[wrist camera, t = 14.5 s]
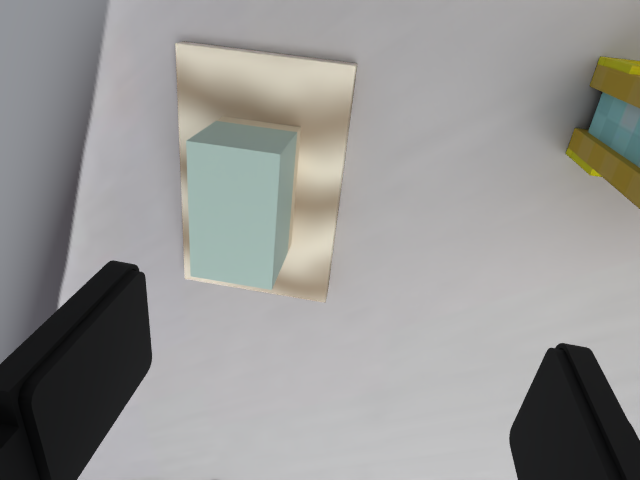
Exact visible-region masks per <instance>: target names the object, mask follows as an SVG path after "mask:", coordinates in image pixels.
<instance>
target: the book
mask: <svg viewBox="0 0 640 480" xmlns="http://www.w3.org/2000/svg"><path fill="white" fill-rule="evenodd" d="M590 87H593V88H595V89H597V90H599V91H602V92H603V93H602V95H601V98H600V101H599V103H598V106H597V109H596V112H595V114H594V117H593V120H592V123H591V125H590V128H589V130H588V129H580V128H575V129H574V132H573V134H572V137H571V140H570V143H569V146H568V148H567V151H566V154H567V155H568V156H569V157H570V158H571V159H572V160H574V161H575V162H576V163H577V164H578V165H579V166H580V167H581V168H582V169H584V170H585V171H586V172H587V173H588V174H589V175H592V176H599V177H603V178H604V179H605V180H607V181H608V182H609V183H610V184H611V185H612V186H614V187H615V188H616V189H617V190H618V191H619V192H621V193H622V194H623V195H624V196H625V197H626V198H628V199H629V200H630V201H631V202H632V203H633V204H635V205H636V206H637V207H638V208H639V209H640V61H635V60H626V59H618V58H609V57H600V58H599V61H598V63H597V66H596V69H595V72H594V75H593V78H592V81H591V83H590Z"/></svg>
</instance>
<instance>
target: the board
mask: <svg viewBox="0 0 640 480" xmlns="http://www.w3.org/2000/svg"><path fill="white" fill-rule="evenodd" d="M175 46H176V71H177V96H178V121H179V146H180V171H181V196H182V221H183V246H184V271H185V279H189V280H195V281H200V282H206V283H212V284H218V285H224V286H230V287H236V288H242V289H248V290H254V291H260V292H265V293H271V294H277V295H283V296H289V297H295V298H301V299H307V300H313V301H319V302H324V303H325V302H326V297H327V293H328V285H329V278H330V270H331V262H332V255H333V247H334V239H335V232H336V224H337V216H338V209H339V201H340V193H341V186H342V178H343V170H344V163H345V155H346V147H347V140H348V132H349V124H350V117H351V109H352V101H353V94H354V86H355V78H356V71H357V63H350V62H342V61H334V60H326V59H318V58H310V57H302V56H294V55H286V54H278V53H270V52H263V51H255V50H247V49H239V48H231V47H223V46H215V45H207V44H199V43H191V42H179V43H175ZM223 116H224V117H231V118H238V119H246V120H253V121H260V122H267V123H274V124H282V125H289V126H296V127H301V134H300V146H299V158H298V170H297V182H296V194H295V206H294V218H293V230H292V242H291V247H290V249H289V251H288V254H287V256H286V258H285V261H284V263H283V265H282V267H281V270H280V272H279V274H278V277H277V279H276V281H275V284H274V286H273V288H272V290H269V289H263V288H257V287H251V286H245V285H239V284H233V283H227V282H222V281H216V280H210V279H204V278H198V277H192V276H191V273H190V243H189V212H188V182H187V151H186V141H187V140H188V139H190V138H191V137H193V136H194V135H196V134H197V133H199V132H200V131H202V130H203V129H205V128H206V127H208V126H209V125H211V124H212V123H214V122H215V121H217V120H218V119H220V118H221V117H223Z"/></svg>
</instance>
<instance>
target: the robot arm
mask: <svg viewBox="0 0 640 480" xmlns="http://www.w3.org/2000/svg"><path fill="white" fill-rule="evenodd" d="M151 361H152V350H151V338H150V326H149V315H148V303H147V291H146V280H145V275H144V273H143V272H139V268H138V266H137V265H135V264H129V263H124V262H118V261H110V262H108V263H107V264H106V265H105V266H104V267H103V268H102V269H101V270H100V271H99V272H97V273H96V274H95V275H94V276H93V277H92V278H91V279H90V280H89V281H88V282H87V283H86V284H85V285H84V286H83V287H82V288H81V289H79V290H78V291H77V292H76V293H75V294H74V295H73V296H72V297H71V298H70V299H69V300H68V301H67V302H66V303H65V304H64V305H62V306H61V307H60V308H59V309H58V310H57V311H56V312H55V313H54V314H53V315H52V316H51V317H50V318H49V319H48V320H47V321H46V322H44V324H42V326H40V327H39V328H38V329H37V330H36V331H35V332H34V333H33V334H32V335H31V336H30V337H29V338H28V339H27V340H25V341H24V342H23V343H22V344H21V345H20V346H19V347H18V348H17V349H16V350H15V351H14V352H13V353H12V354H11V355H9V356H8V357H7V358H6V359H5V360H4V361H3V362H2V363H1V364H0V480H77V479H78V477H79V476H80V474H81V473H82V471H83V470H84V468H85V467H86V465H87V463H88V462H89V460H90V459H91V457H92V456H93V454H94V453H95V451H96V450H97V448H98V447H99V445H100V444H101V442H102V441H103V439H104V438H105V436H106V435H107V433H108V432H109V430H110V428H111V427H112V425H113V424H114V422H115V421H116V419H117V418H118V416H119V415H120V413H121V412H122V410H123V409H124V407H125V406H126V404H127V403H128V401H129V400H130V398H131V397H132V395H133V393H134V392H135V390H136V389H137V387H138V386H139V384H140V383H141V381H142V380H143V378H144V377H145V375H146V374H147V372H148V370H149V368H150V365H151ZM509 440H510V448H511V452H512V456H513V460H514V465H515V469H516V473H517V477H518V480H640V440H639V438H638V436H637V435H636V433H635V431H634V429H633V427H632V426H631V424H630V423H629V421H628V420H627V418H626V416H625V414H624V412H623V410H622V408H621V406H620V404H619V402H618V400H617V398H616V396H615V395H614V393H613V391H612V389H611V387H610V385H609V383H608V381H607V379H606V377H605V375H604V373H603V372H602V370H601V368H600V366H599V364H598V362H597V360H596V358H595V356H594V354H593V352H592V351H591V350H590V349H589V348H586V347H581V346H575V345H570V344H565V343H560V344H558V345H557V346H556V348H549V349H548V350H547V352H546V354H545V356H544V358H543V360H542V363H541V365H540V367H539V369H538V371H537V373H536V375H535V378H534V380H533V382H532V384H531V386H530V388H529V391H528V393H527V395H526V397H525V399H524V401H523V403H522V406H521V408H520V410H519V412H518V414H517V416H516V419H515V421H514V423H513V425H512V427H511V430H510V437H509Z"/></svg>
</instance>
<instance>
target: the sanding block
mask: <svg viewBox="0 0 640 480" xmlns="http://www.w3.org/2000/svg"><path fill="white" fill-rule="evenodd" d="M300 134H301V127H296V126H289V125H282V124H274V123H267V122H260V121H253V120H246V119H238V118H231V117H224V116H223V117H221V118H220V119H218V120H217V121H215V122H214V123H212V124H211V125H209V126H208V127H206V128H205V129H203V130H202V131H200V132H199V133H197V134H196V135H194V136H193V137H191V138H190V139H188V140H187V141H186V151H187V182H188V212H189V243H190V273H191V276H192V277H198V278H204V279H210V280H216V281H222V282H227V283H233V284H239V285H245V286H251V287H257V288H263V289H269V290H272V288H273V286H274V284H275V281H276V279H277V277H278V274H279V272H280V270H281V267H282V265H283V263H284V261H285V258H286V256H287V254H288V251H289V249H290V247H291V242H292V230H293V218H294V206H295V194H296V182H297V170H298V158H299V146H300Z"/></svg>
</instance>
